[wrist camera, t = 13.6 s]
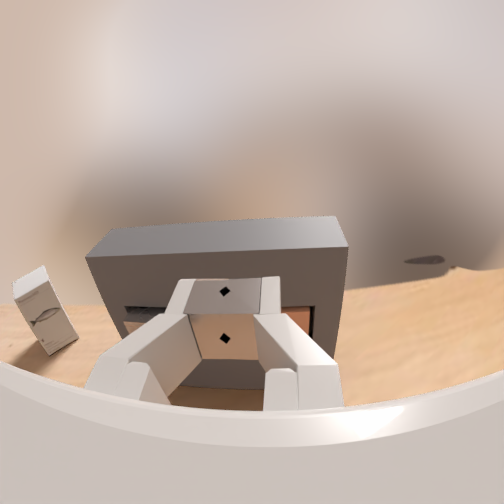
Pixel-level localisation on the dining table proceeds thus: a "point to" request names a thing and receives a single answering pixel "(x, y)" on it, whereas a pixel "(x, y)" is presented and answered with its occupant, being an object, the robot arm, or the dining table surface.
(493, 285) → the dining table surface
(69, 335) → the supplement box
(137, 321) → the grey button
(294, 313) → the button terracotta
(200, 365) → the panel
